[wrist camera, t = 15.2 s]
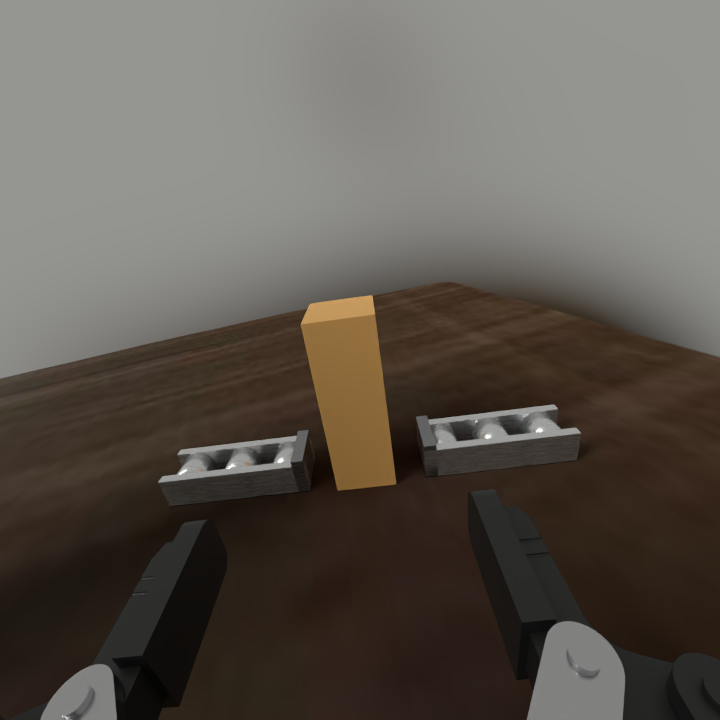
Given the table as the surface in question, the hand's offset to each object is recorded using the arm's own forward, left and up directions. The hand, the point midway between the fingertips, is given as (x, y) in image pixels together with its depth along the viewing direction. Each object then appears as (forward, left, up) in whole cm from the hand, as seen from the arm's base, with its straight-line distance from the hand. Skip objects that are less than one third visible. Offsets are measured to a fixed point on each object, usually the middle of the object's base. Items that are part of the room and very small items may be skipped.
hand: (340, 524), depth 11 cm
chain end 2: (+9, +12, -9) cm, 17 cm away
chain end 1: (-9, +12, -9) cm, 17 cm away
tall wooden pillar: (0, +12, -9) cm, 15 cm away
